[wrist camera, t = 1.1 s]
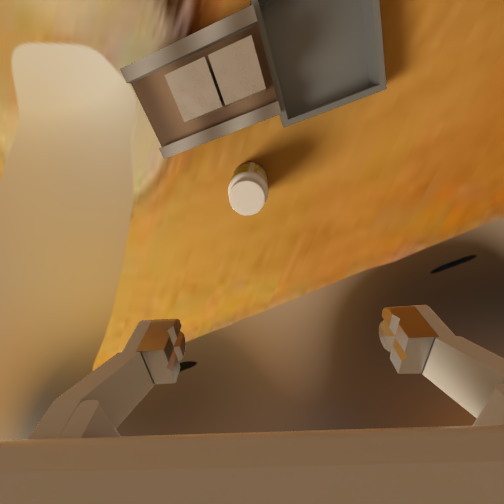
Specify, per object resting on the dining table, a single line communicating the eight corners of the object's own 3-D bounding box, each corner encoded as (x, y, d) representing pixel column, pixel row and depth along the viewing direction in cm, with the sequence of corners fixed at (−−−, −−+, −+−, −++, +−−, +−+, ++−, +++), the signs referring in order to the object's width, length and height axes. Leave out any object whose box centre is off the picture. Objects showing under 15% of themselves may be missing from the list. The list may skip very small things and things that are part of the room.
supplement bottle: (230, 192, 36) (222, 214, 29) (235, 158, 34) (228, 172, 27) (263, 199, 37) (263, 222, 29) (271, 165, 34) (273, 181, 27)
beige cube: (253, 44, 25) (251, 34, 21) (265, 90, 27) (265, 88, 23) (215, 61, 26) (207, 55, 22) (230, 105, 27) (225, 105, 24)
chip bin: (360, -52, 24) (373, -74, 21) (374, 90, 30) (386, 88, 27) (250, 2, 26) (248, -11, 23) (282, 125, 32) (284, 127, 29)
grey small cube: (212, 63, 26) (204, 56, 22) (227, 106, 28) (222, 106, 24) (177, 79, 26) (164, 75, 23) (194, 120, 28) (184, 122, 25)
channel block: (254, 20, 27) (253, 4, 23) (279, 112, 31) (281, 113, 27) (141, 74, 30) (120, 69, 25) (177, 152, 34) (164, 158, 30)
